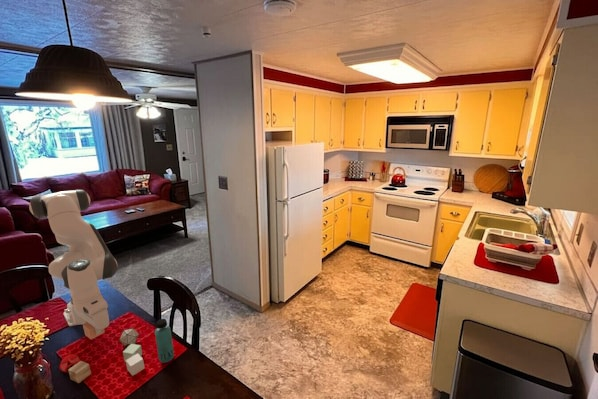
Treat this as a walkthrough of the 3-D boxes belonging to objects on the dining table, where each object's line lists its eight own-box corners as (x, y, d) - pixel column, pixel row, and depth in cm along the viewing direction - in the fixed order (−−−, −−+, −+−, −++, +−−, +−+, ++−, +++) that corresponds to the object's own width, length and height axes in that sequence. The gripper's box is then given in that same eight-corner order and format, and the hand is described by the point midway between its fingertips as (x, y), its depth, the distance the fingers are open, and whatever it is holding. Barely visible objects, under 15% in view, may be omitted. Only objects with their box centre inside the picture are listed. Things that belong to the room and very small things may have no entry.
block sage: (124, 361, 129) (122, 351, 128) (132, 352, 134) (131, 343, 133) (134, 363, 128) (132, 353, 127) (142, 354, 133) (140, 345, 132)
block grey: (127, 369, 125) (125, 360, 124) (139, 362, 129) (137, 353, 127) (132, 376, 122) (130, 366, 120) (144, 368, 126) (143, 358, 124)
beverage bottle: (159, 368, 126) (153, 328, 120) (158, 357, 131) (152, 319, 126) (175, 362, 129) (170, 323, 123) (174, 352, 134) (168, 314, 129)
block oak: (70, 379, 120) (68, 369, 119) (83, 370, 125) (80, 360, 124) (78, 383, 119) (76, 373, 117) (91, 373, 123) (88, 364, 122)
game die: (132, 352, 139) (127, 348, 131) (117, 345, 139) (111, 339, 132) (145, 334, 144) (141, 328, 137) (130, 326, 145) (125, 321, 137)
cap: (84, 359, 126) (79, 347, 129) (68, 365, 121) (63, 352, 123) (76, 371, 128) (70, 359, 130) (60, 377, 123) (55, 365, 125)
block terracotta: (85, 335, 118) (82, 324, 116) (98, 327, 122) (96, 317, 120) (91, 339, 115) (88, 329, 114) (104, 332, 119) (102, 321, 118)
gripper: (65, 296, 117) (73, 325, 121) (91, 313, 107) (98, 344, 110) (83, 288, 122) (90, 317, 126) (109, 304, 112) (115, 334, 116)
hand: (94, 330), depth 118 cm, fingers closed on block terracotta, 5 cm apart
